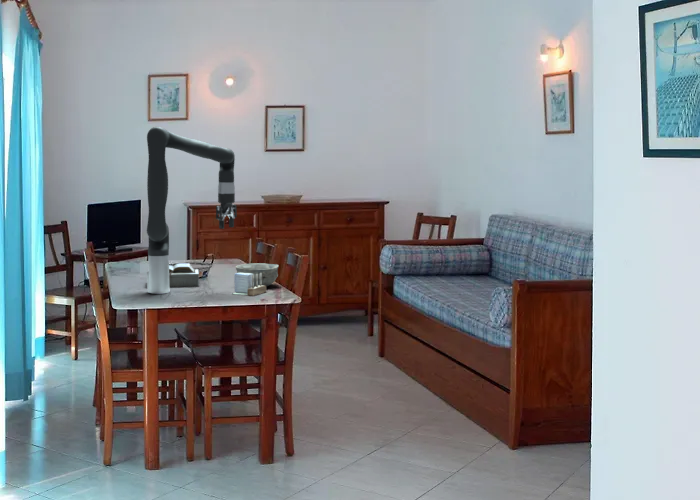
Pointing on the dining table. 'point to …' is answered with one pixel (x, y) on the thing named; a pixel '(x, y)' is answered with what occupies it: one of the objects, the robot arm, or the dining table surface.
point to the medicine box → (242, 282)
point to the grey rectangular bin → (183, 276)
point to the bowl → (267, 272)
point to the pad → (240, 293)
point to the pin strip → (256, 289)
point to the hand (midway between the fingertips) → (226, 227)
